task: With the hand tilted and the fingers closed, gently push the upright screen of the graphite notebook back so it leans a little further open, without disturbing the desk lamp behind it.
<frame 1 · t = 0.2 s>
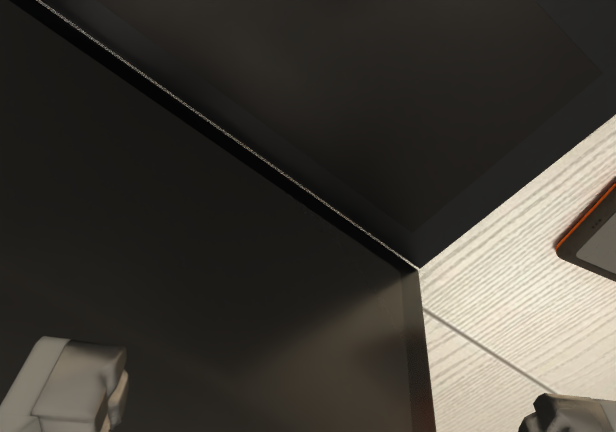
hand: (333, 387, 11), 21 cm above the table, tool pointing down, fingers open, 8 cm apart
notebook screen: (152, 275, 20), point 12 cm above the table, hinge at 95.0°
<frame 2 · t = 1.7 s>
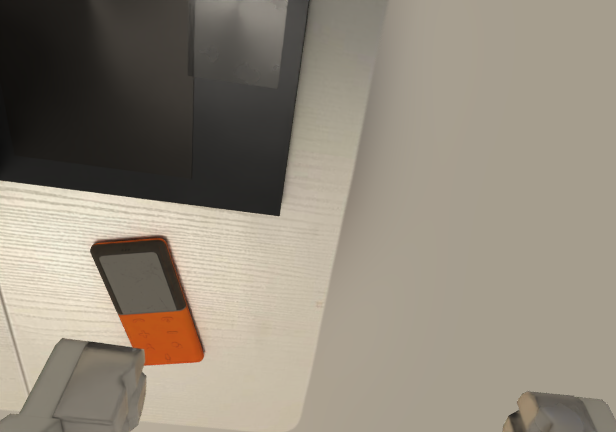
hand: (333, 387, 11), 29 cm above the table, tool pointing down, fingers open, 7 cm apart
phone: (153, 300, 50), on the table
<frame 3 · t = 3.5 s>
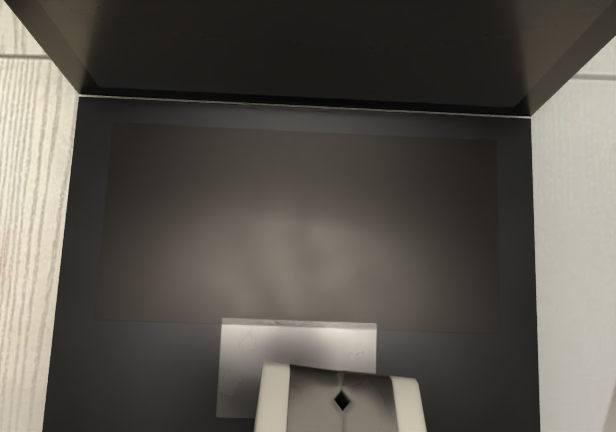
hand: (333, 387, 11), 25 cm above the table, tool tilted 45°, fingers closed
notebook screen: (317, 2, 26), point 12 cm above the table, hinge at 95.0°
notebook: (301, 268, 36), on the table
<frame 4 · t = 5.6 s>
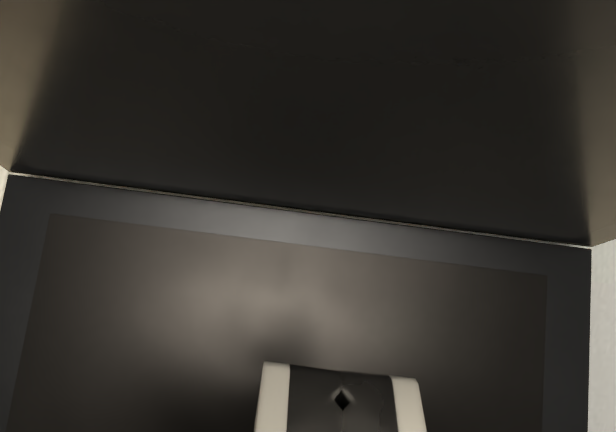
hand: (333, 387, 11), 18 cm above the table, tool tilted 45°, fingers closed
notebook screen: (340, 115, 17), point 12 cm above the table, hinge at 95.0°
notebook: (282, 420, 28), on the table
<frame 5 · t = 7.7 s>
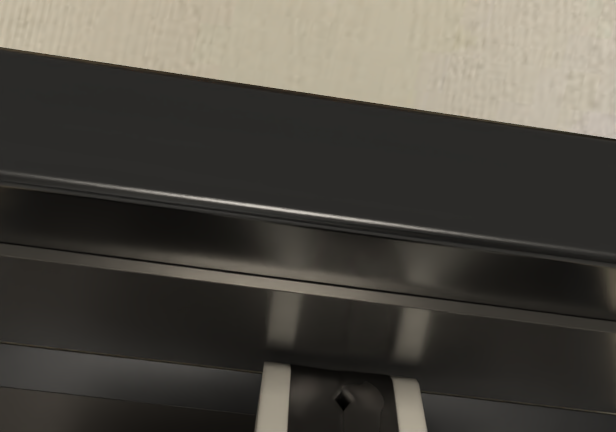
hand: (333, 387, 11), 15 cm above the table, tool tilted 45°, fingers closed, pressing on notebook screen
notebook screen: (328, 346, 13), point 12 cm above the table, hinge at 98.8°, touching gripper
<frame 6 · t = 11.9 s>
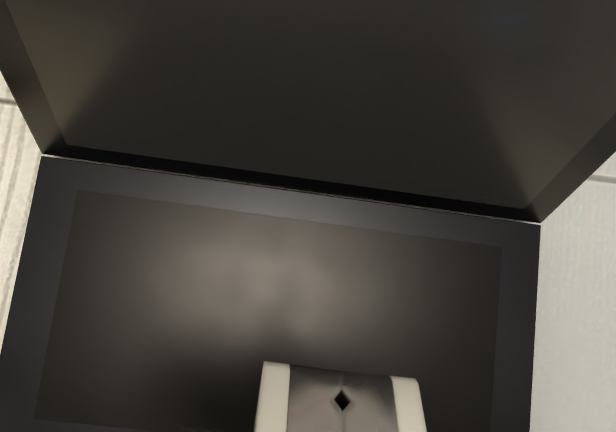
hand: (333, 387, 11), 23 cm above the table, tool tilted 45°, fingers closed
notebook screen: (328, 53, 23), point 12 cm above the table, hinge at 111.1°
notebook: (275, 368, 32), on the table
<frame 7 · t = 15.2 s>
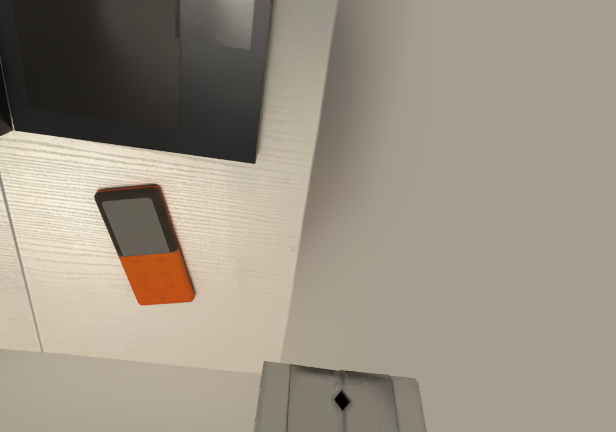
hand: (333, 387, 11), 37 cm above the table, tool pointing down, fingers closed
phone: (150, 244, 57), on the table
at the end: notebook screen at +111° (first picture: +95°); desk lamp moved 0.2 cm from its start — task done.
